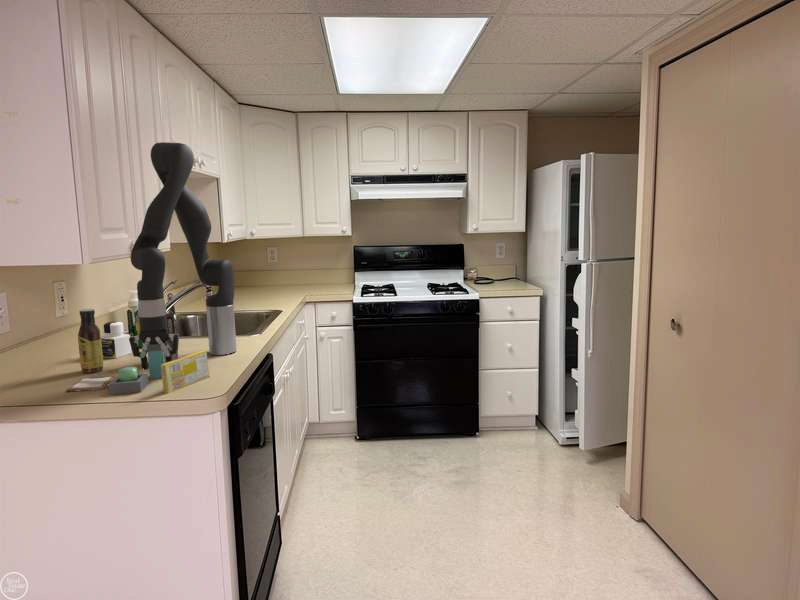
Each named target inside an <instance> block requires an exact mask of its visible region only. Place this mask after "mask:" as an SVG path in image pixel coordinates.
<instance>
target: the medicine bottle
mask: <svg viewBox="0 0 800 600" xmlns="http://www.w3.org/2000/svg"><path fill="white" fill-rule="evenodd" d="M124 332H125V330H124V323H123V322H122V321H109V322H105V323H104V324H103V333H104V336H100V337H101V343H102V354H103V358H104V359H105V358H106V359H107V358H109V359H118V358H122V357H125V356H129V355H131V354H133V352H132V349H131V345H130V342H129V338H130V337H131V335H130V334H128V333H124Z"/></svg>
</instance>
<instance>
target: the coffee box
mask: <svg viewBox="0 0 800 600" xmlns="http://www.w3.org/2000/svg"><path fill="white" fill-rule="evenodd" d="M166 317H167V328H168V332H169V333H170V334H176V333H177V332H176V323H175V314H174V313H166ZM166 342H167V344H168V346H169V348H170V350H172V348H173V341H171V338H170V337H169V338H168V339H167V341H166ZM178 353H179V350H178V351H177V353H176V354H173V355H172V361H173V360H176V359H179V354H178ZM164 360H165V363H166V354H165V353H164ZM148 362H149V360H148Z"/></svg>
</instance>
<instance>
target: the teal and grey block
mask: <svg viewBox="0 0 800 600" xmlns="http://www.w3.org/2000/svg"><path fill="white" fill-rule="evenodd" d="M147 359H148V360H149V361H148V371H149V379H151V378H153V379H162V372H161V364H164V363H165V360H164V351H163V350H162V349H161V344H149V345H147Z"/></svg>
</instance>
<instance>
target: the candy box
mask: <svg viewBox="0 0 800 600" xmlns="http://www.w3.org/2000/svg"><path fill="white" fill-rule="evenodd" d="M207 352H208V351H207V350H200V351H197V352H194V353H191V354H188V355H185V356H182V357H178V359H176V360H173V361H170V362H167V363H164V364H161V372H162V378H161V379H162V388H163V393H164V394H170V393H172V392H175V391H177V390H181V389H183V388H185V387H188V386H189V385H192V384H196V383H197V382H200V381H203V380H206V379H207V377H208V378H210V371H209V370H210V369H209V362H208V353H207Z"/></svg>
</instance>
